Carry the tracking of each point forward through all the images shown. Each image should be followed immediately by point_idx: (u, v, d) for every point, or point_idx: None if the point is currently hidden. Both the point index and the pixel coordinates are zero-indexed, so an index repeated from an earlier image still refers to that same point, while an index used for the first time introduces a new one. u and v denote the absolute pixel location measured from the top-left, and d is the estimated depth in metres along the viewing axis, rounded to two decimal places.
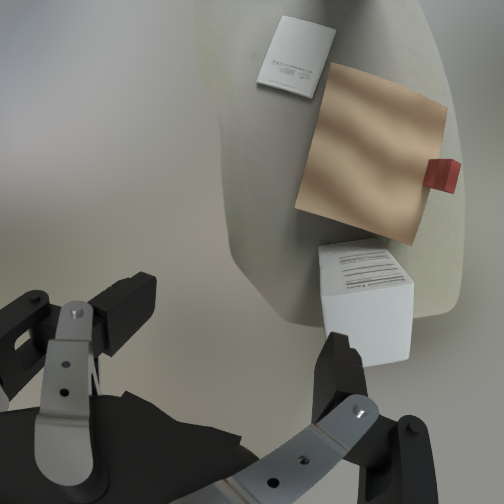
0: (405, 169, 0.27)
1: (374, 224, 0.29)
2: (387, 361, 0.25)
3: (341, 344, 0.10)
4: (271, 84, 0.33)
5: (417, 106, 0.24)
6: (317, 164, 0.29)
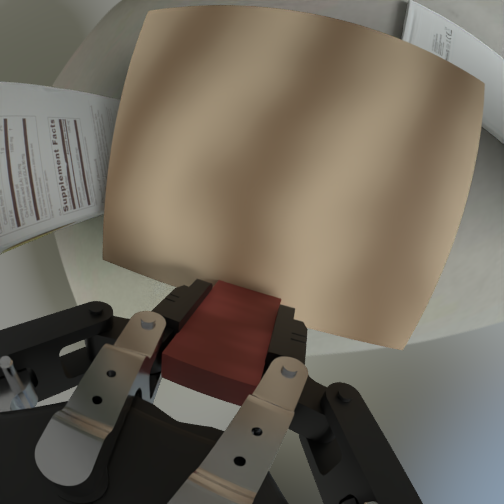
0: (246, 234, 0.13)
1: (121, 168, 0.13)
2: None
3: (285, 315, 0.11)
4: (409, 15, 0.12)
5: (408, 277, 0.12)
6: (235, 23, 0.10)
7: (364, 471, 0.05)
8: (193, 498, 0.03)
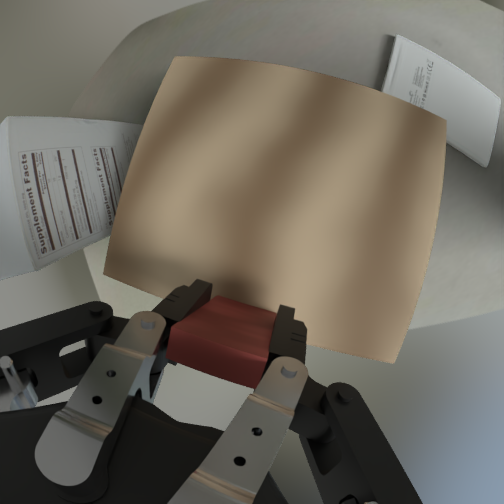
0: (246, 251, 0.14)
1: (135, 188, 0.15)
2: None
3: (285, 314, 0.11)
4: (394, 51, 0.17)
5: (392, 288, 0.13)
6: (247, 75, 0.14)
7: (364, 471, 0.05)
8: (193, 498, 0.03)
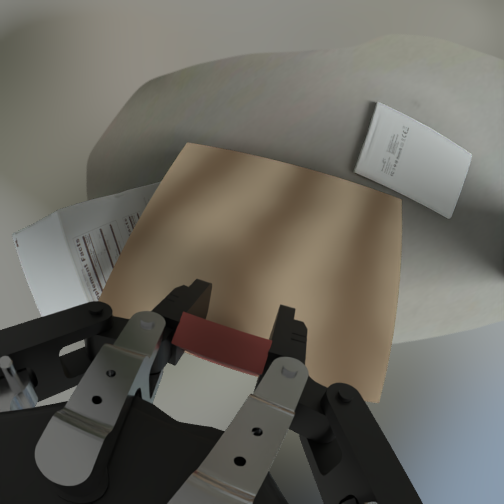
0: (236, 299, 0.16)
1: (140, 240, 0.17)
2: (34, 298, 0.20)
3: (286, 315, 0.11)
4: (373, 120, 0.23)
5: (367, 332, 0.15)
6: (244, 164, 0.20)
7: (364, 471, 0.05)
8: (193, 498, 0.03)
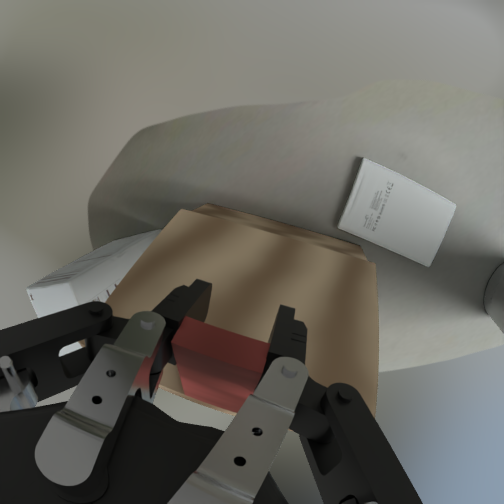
0: None
1: (132, 284, 0.18)
2: None
3: (286, 315, 0.11)
4: (358, 178, 0.26)
5: (353, 374, 0.15)
6: (232, 231, 0.23)
7: (364, 471, 0.05)
8: (193, 498, 0.03)
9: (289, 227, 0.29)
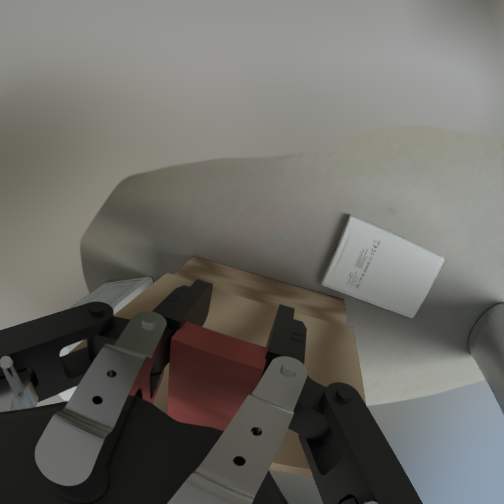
0: None
1: None
2: None
3: (285, 314, 0.11)
4: (344, 237, 0.27)
5: None
6: (216, 295, 0.24)
7: (364, 471, 0.05)
8: (193, 498, 0.03)
9: (273, 284, 0.30)
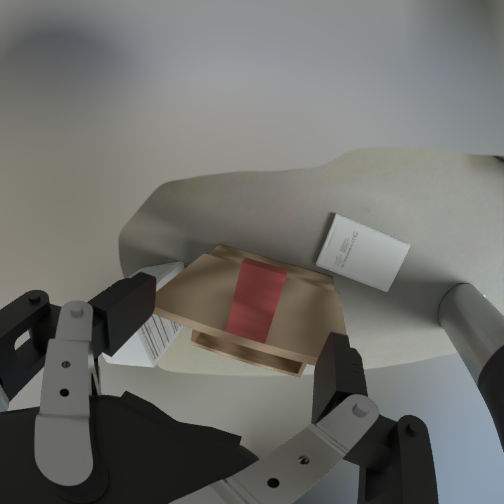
0: None
1: (180, 281, 0.27)
2: None
3: (341, 344, 0.10)
4: (331, 229, 0.38)
5: None
6: None
7: (404, 502, 0.03)
8: (209, 501, 0.03)
9: (279, 264, 0.41)
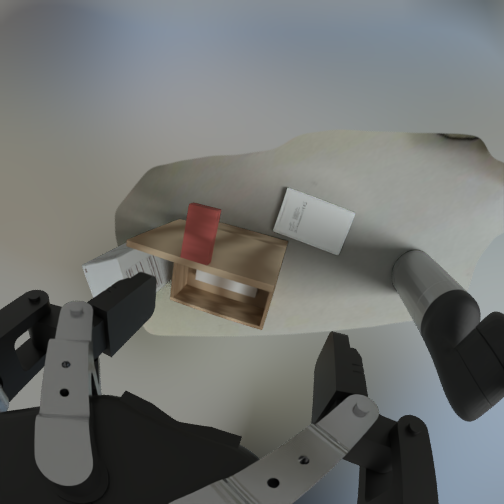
0: None
1: (155, 232, 0.36)
2: None
3: (341, 344, 0.10)
4: (284, 200, 0.47)
5: (264, 268, 0.33)
6: None
7: (404, 502, 0.03)
8: (209, 501, 0.03)
9: (242, 230, 0.49)
